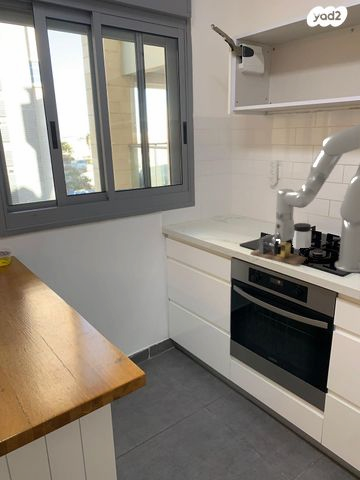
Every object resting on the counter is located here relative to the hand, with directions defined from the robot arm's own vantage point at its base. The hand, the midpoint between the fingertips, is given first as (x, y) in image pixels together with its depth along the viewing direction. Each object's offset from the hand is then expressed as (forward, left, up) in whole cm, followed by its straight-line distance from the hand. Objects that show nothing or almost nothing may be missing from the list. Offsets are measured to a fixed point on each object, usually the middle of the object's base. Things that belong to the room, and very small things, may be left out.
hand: (283, 251), depth 168 cm
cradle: (+4, 0, -4) cm, 6 cm away
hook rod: (+6, 0, -2) cm, 6 cm away
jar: (+2, -20, -4) cm, 21 cm away
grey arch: (+10, 0, -4) cm, 10 cm away
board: (+3, 0, -4) cm, 5 cm away
